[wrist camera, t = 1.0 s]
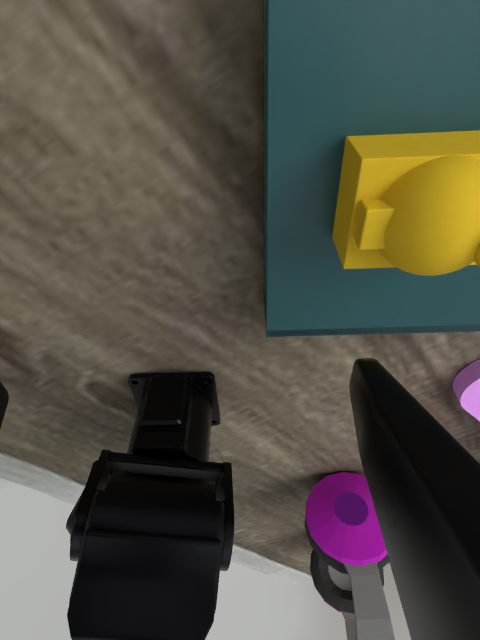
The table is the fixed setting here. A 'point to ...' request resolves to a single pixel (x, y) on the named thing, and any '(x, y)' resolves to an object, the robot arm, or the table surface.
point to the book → (328, 148)
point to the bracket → (469, 388)
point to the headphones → (349, 554)
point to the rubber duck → (410, 202)
